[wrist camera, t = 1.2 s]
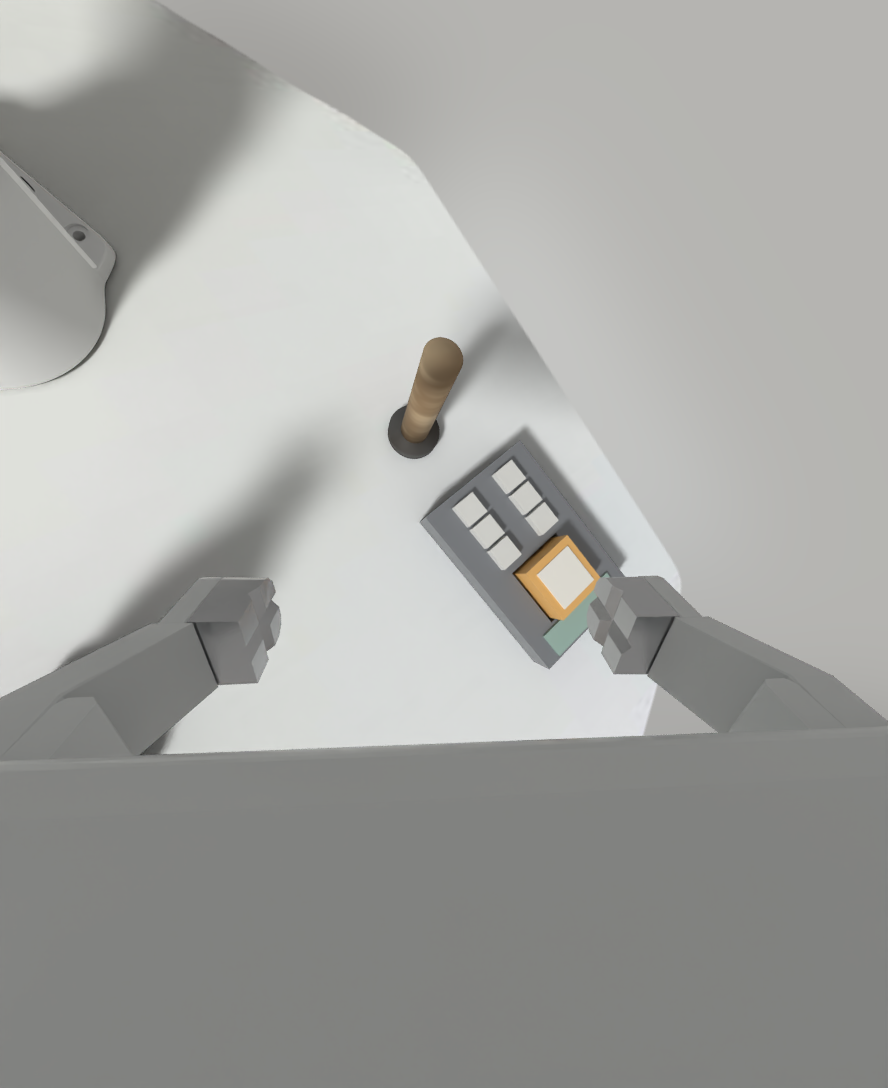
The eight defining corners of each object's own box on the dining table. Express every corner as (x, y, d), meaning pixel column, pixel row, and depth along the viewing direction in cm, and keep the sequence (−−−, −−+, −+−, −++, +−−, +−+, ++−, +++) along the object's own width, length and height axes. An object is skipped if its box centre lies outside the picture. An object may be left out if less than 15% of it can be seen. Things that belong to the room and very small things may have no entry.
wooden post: (377, 428, 35) (388, 345, 22) (415, 401, 36) (447, 307, 23) (409, 468, 35) (438, 408, 22) (446, 440, 36) (494, 368, 23)
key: (511, 573, 34) (526, 573, 31) (550, 538, 36) (568, 534, 33) (546, 616, 35) (564, 620, 32) (582, 580, 36) (603, 580, 33)
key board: (419, 522, 35) (427, 515, 31) (507, 450, 38) (523, 437, 34) (533, 661, 36) (553, 671, 33) (610, 583, 39) (636, 584, 35)
